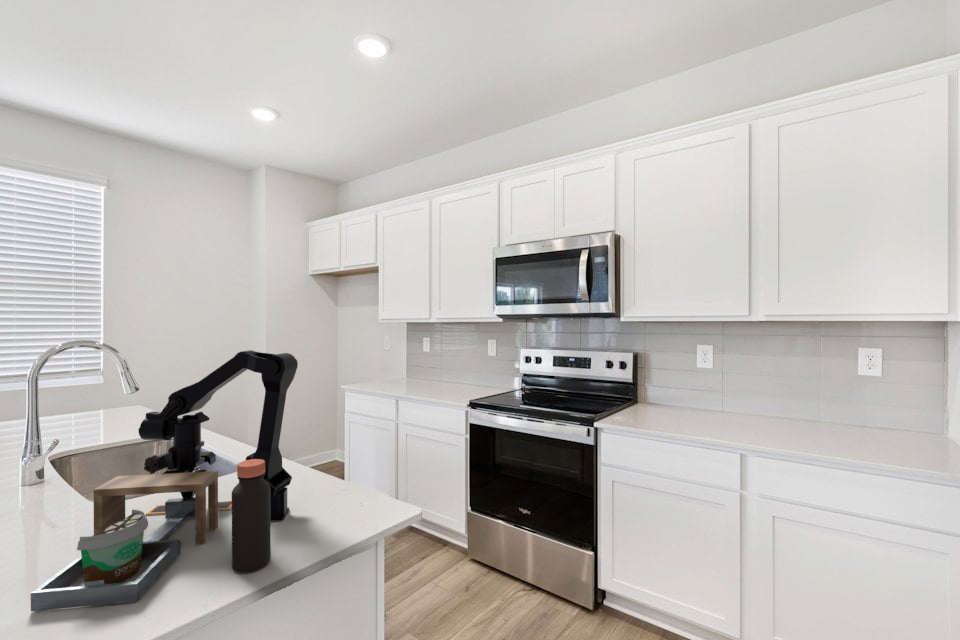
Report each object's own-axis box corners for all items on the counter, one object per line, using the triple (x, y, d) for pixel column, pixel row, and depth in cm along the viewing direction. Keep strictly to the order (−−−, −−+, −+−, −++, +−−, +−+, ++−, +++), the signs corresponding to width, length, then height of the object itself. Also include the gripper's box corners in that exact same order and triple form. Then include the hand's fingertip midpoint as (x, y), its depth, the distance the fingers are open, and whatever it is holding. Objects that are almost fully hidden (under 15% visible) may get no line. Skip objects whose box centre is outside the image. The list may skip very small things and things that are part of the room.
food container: (111, 596, 79) (110, 539, 79) (77, 595, 79) (76, 538, 79) (164, 558, 91) (163, 509, 91) (134, 557, 91) (134, 508, 91)
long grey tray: (219, 512, 112) (219, 495, 112) (136, 601, 77) (136, 578, 77) (149, 516, 110) (149, 500, 109) (30, 611, 74) (30, 587, 74)
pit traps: (236, 502, 119) (236, 500, 119) (229, 510, 114) (229, 508, 114) (156, 507, 116) (156, 505, 116) (145, 515, 111) (145, 513, 111)
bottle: (246, 554, 93) (246, 456, 93) (277, 556, 92) (277, 458, 92) (223, 572, 86) (223, 467, 86) (256, 575, 85) (256, 469, 85)
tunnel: (218, 527, 105) (217, 471, 105) (203, 544, 97) (202, 483, 97) (117, 534, 101) (117, 476, 101) (93, 552, 93) (93, 489, 93)
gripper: (170, 431, 120) (171, 490, 120) (128, 453, 101) (129, 523, 101) (216, 430, 122) (216, 488, 122) (182, 451, 103) (183, 519, 103)
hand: (188, 503), depth 112 cm, fingers closed
